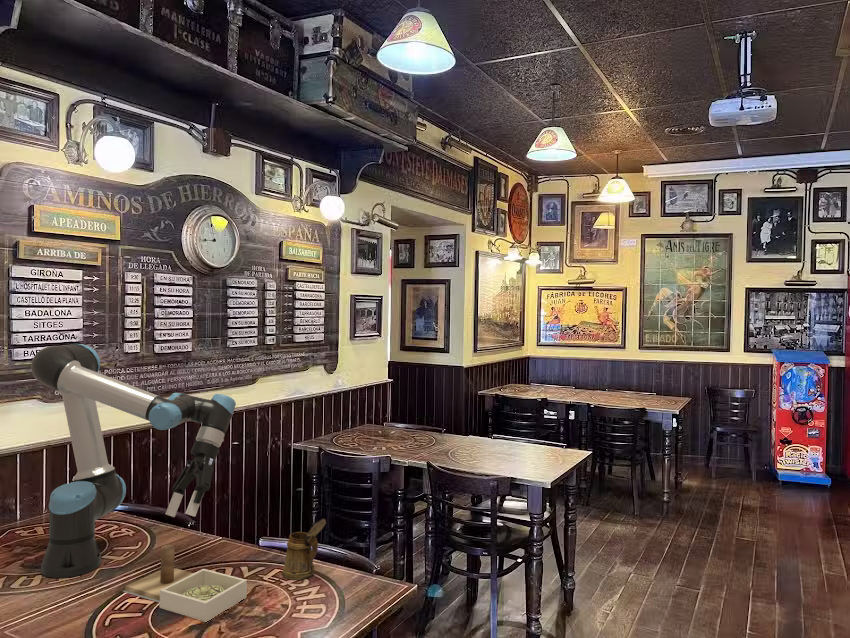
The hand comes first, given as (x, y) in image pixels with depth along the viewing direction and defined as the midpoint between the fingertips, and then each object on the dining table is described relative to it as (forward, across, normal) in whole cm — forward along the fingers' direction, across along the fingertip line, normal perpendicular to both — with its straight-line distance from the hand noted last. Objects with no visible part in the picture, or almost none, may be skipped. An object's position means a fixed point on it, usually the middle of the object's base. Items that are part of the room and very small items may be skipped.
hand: (179, 515), depth 179 cm
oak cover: (+18, -1, -4) cm, 18 cm away
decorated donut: (+21, -16, -9) cm, 27 cm away
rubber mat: (+18, -1, -4) cm, 19 cm away
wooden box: (+20, -16, -8) cm, 27 cm away
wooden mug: (+7, -18, -34) cm, 39 cm away
